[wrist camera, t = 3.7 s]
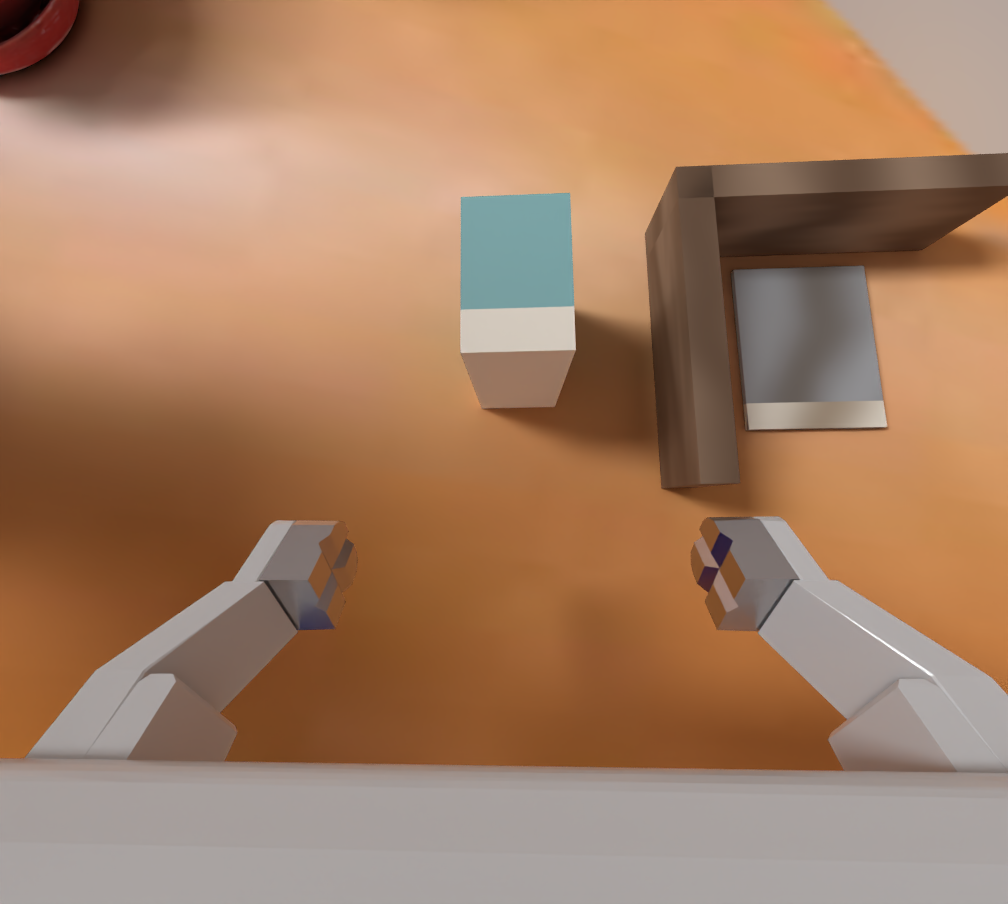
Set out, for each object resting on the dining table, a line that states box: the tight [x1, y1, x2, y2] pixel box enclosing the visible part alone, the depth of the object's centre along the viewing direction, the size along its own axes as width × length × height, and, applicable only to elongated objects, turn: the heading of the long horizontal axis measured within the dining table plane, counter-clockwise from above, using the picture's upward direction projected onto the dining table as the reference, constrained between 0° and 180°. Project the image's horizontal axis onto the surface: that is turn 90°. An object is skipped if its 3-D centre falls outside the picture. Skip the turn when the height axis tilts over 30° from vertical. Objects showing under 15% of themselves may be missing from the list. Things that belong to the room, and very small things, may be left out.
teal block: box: [460, 193, 576, 408], centre depth 18 cm, size 4×6×8 cm, turn 1°
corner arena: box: [645, 153, 1008, 488], centre depth 19 cm, size 15×15×4 cm
